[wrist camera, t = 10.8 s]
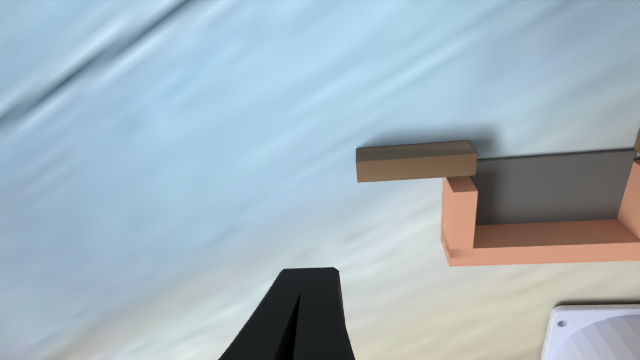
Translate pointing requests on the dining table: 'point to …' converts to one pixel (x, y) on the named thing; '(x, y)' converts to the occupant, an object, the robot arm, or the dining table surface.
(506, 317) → the dining table surface
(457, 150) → the channel
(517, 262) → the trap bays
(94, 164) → the dining table surface
